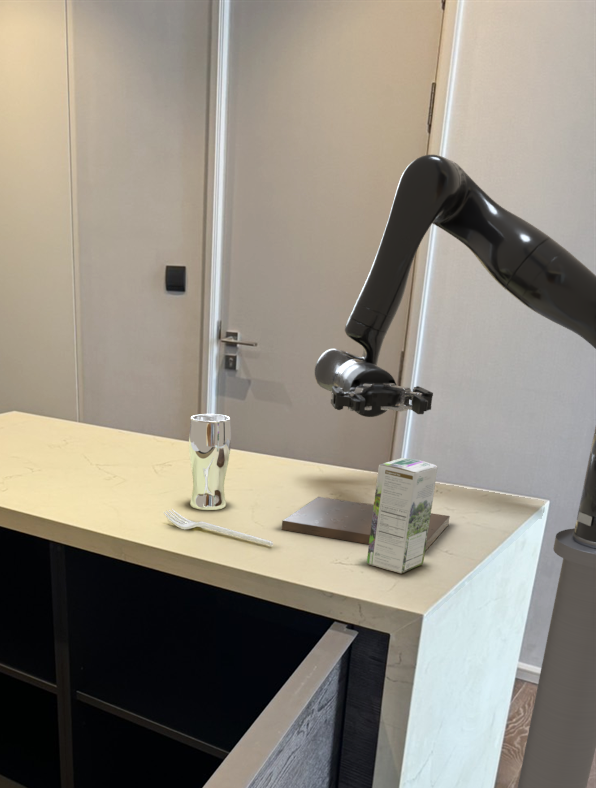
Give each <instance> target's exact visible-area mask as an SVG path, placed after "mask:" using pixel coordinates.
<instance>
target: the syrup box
mask: <svg viewBox="0 0 596 788" xmlns="http://www.w3.org/2000/svg"><path fill="white" fill-rule="evenodd" d="M438 468H439V467H438V466H437V465H436V464H435V463H434V464H433V463H431V462H427V461H424V460H420V459H415V458H408V457H401V458H397V459H394V460H393V459H392V460H391V461H387V462H384V463H380V464H378V469H377V476H376V485H375V492H374V501H373V505H374V508H373V516H372V524H371V532H370V540H369V544H368V550H367V556H366V557H367V558H366V563H367V565H369V566H373V567H376V568H380V569H384V570H387V571H391V572H395V573H398V574H404V573H406V572H408V571H410V570H413V569H415V568H417V567H419V566H422V565H423V564H424V562H425V561H424V560H425V554H426V551H425V548H426V542H427V535H428V528H429V522H430V516H431V513H432V508H433V501H434V495H435V488H436V481H437V475H438Z"/></svg>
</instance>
